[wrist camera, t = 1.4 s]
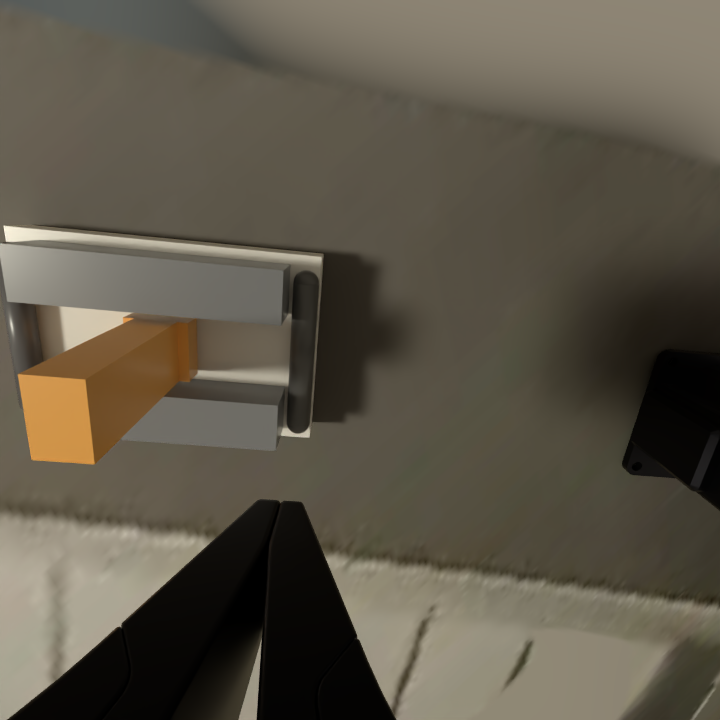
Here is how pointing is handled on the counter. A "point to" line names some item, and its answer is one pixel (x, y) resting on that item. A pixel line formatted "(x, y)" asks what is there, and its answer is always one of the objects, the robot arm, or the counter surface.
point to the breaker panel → (181, 299)
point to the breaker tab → (105, 386)
